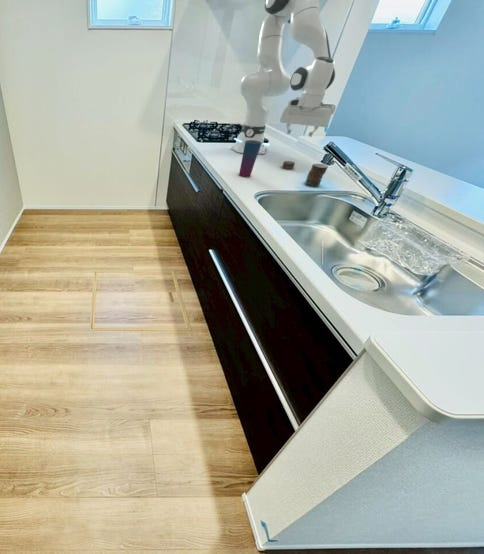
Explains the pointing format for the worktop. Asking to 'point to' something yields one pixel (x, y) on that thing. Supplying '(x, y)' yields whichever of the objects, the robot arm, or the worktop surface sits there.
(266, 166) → the worktop surface
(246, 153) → the cup
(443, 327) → the worktop surface
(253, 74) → the robot arm
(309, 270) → the worktop surface
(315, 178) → the dark brown cylindrical piece
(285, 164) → the brown short cylinder
